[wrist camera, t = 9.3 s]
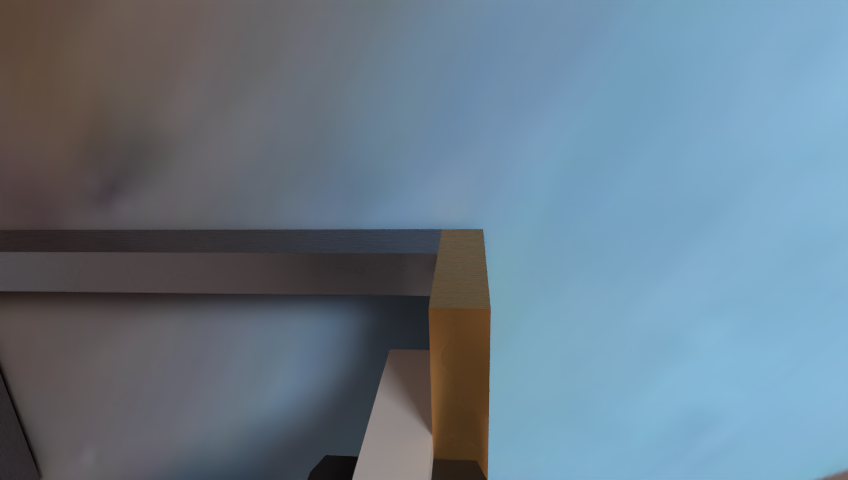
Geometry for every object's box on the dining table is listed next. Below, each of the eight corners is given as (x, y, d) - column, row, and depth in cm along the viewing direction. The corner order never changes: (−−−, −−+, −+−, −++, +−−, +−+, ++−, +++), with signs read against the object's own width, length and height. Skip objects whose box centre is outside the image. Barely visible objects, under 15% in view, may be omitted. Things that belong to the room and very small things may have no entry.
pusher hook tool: (-203, 466, 20) (-412, 587, 15) (-342, 230, 16) (-666, 292, 12) (479, 501, 17) (484, 661, 12) (482, 229, 14) (490, 308, 9)
